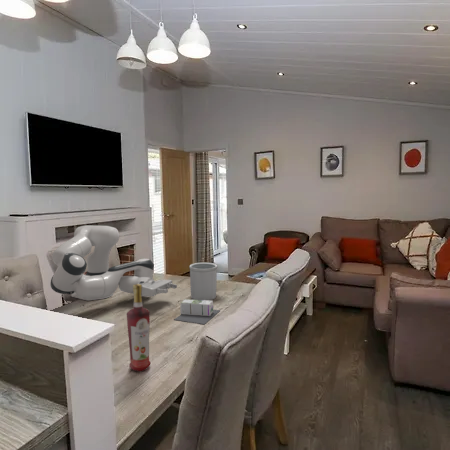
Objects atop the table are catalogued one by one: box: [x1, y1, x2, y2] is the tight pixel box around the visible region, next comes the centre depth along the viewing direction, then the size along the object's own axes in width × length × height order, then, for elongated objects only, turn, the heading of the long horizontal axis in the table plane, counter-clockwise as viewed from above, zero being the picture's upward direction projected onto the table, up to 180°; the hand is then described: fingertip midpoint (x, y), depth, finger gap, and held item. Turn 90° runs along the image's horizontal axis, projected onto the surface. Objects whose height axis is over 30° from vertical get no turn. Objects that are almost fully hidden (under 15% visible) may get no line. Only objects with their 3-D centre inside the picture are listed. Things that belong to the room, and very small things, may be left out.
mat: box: [173, 309, 221, 326], centre depth 163 cm, size 15×18×1 cm
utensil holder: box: [189, 262, 218, 301], centre depth 190 cm, size 15×15×18 cm
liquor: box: [126, 284, 152, 372], centre depth 114 cm, size 7×7×28 cm
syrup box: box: [179, 298, 214, 316], centre depth 165 cm, size 6×6×14 cm
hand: (171, 288), depth 173 cm, fingers open, 8 cm apart
